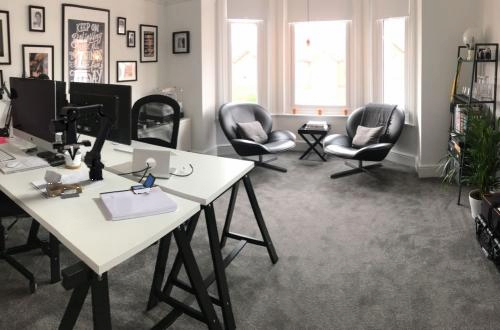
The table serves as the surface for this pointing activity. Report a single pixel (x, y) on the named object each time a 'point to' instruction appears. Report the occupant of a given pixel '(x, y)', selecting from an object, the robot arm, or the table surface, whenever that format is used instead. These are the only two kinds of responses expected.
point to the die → (52, 176)
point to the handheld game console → (146, 182)
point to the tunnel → (58, 192)
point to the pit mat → (70, 195)
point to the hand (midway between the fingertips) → (73, 160)
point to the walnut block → (56, 187)
